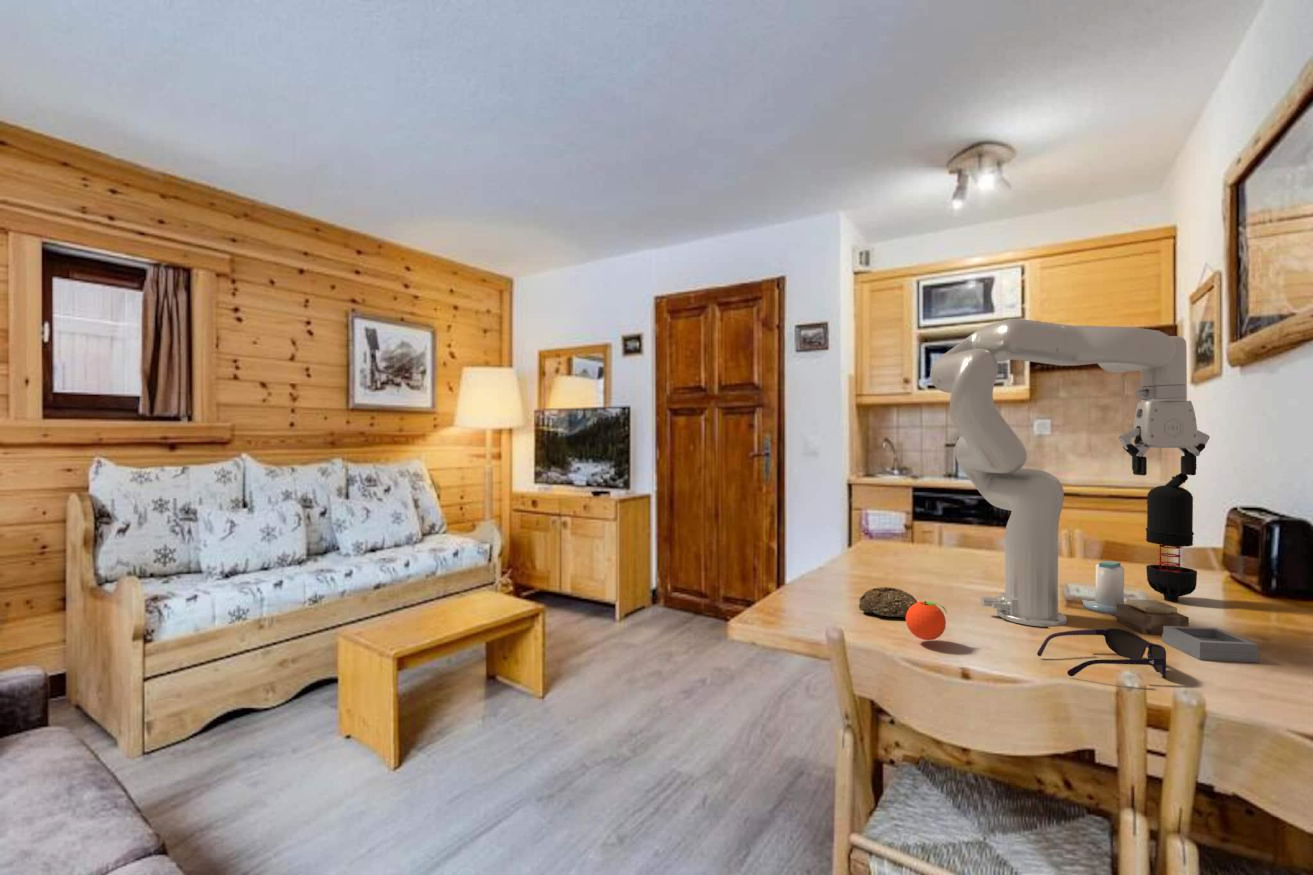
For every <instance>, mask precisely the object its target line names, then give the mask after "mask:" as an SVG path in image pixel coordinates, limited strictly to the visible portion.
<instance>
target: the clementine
mask: <svg viewBox="0 0 1313 875" xmlns="http://www.w3.org/2000/svg"><path fill="white" fill-rule="evenodd" d="M937 605H938V606H940V607H942V608H943V609H944V611H945V613H946V614H948V612H947V609H946V608H945V606H943V605H940V604H939V603H937V602H933V601H926V600H924V601H917V603H915V604H914V605H912V606H911V607H910V608H909V609H908V611H907V614H906V618H905V625H906V626H907V628H908V630H909V631H910V633H911V634H912V635H914V636H915V637H916V638H918V639H920V640H924V641H933V640H935V639H938V638H939V637H941V635H943V634H944V632H945V630H946V627H947V626H946V625H947V621H946V619H947V618H946V616H945V614H944V612H943V611H942V610H941V608H939V607H938V606H937Z"/></svg>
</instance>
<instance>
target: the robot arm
mask: <svg viewBox="0 0 1313 875" xmlns="http://www.w3.org/2000/svg"><path fill="white" fill-rule="evenodd" d="M1187 349H1188V348H1187V341H1186V339H1185V338H1184V337H1182V336H1178V335H1172V336H1171V335H1170V336H1169V335H1168V334H1166V333H1165V332H1162V331H1160V330H1156V329H1149V328H1141V327H1133V326H1117V325H1115V326H1113V325H1112V326H1107V325H1106V326H1105V325H1102V326H1100V325H1070V324H1062V323H1061V324H1060V323H1054V322H1046V321H1038V320H1032V319H1024V318H1009V319H1008V318H1007V319H1004V320H1000V321H997V322H994V323H991V324H987V325H985V326H983V327H980V328H978V329H977V330H976V331H974V332H973V333H972V334H970V335H969V336H967V337H966V338H965V339H963V340H961V342H959V343H958V344H956V345H955V346H953V347H952V348H951V349H949V350H948V351H947V352H945V353H944V354H942V355H941V356H940V357H939V358H937V359H936V361H935V362H934V363H933V364H932V366H931V368H930V374H929V377H930V380H931V381H930V382H931V383H932V385H933V386H934V387H935V388H936V389H937V390H938V391H941V392H944V393H948V394H949V393H950V398H949V399H950V400H949V413H950V418H951V421H952V423H953V425H954V426H955V428H956V430H957V431H958V433H959V434H960V436H959V438H958V439H957V441H956V443H955V444H954V456H955V458H956V459H955V460H956V462H957V464H958V465H959V467H960V470H962V472H963V473H964V474H965V475H966V477H967V478H968V479H969V481H970V482H971V483H972V484H973V486H974V487H975V488H976V490H977V491H978V492H979V494H980V495H981V496H982V497H983V498H984V499H985V500H986V502H988V503H989V504H990V505H992V506H993V507H995V508H998V509H1001V510H1006V511H1011V512H1010V515H1009V518H1008V520H1007V523H1006V526H1005V532H1004V546H1005V547H1004V556H1005V557H1004V561H1005V562H1004V570H1005V571H1004V575H1005V576H1004V592H999V595H998V596H996V597H987V596H981V597H980V604H981V606H982V607H992V609H995V610H996V615H998V616H999V617H1000V618H1001V619H1004V620H1006V621H1008V622H1012V623H1017V624H1019V625H1026V626H1032V627H1042V628H1048V627H1058V626H1060V627H1061V626H1064V625H1067V623H1068V617H1067V616H1066V615H1065V614H1063V613H1061V612H1060V611H1059V526H1060V520H1061V519H1060V518H1061V512H1062V510H1063V506H1064V501H1065V500H1064V499H1065V492H1064V488H1063V485H1062V483H1061V482H1060V480H1059V479H1058V478H1057V477H1056V476H1055V475H1053V473H1050V472H1047V471H1044V470H1040V469H1034V468H1022V467H1024V466H1025V464H1026V462H1027V458H1028V452H1027V449H1026V446H1025V445H1024V443H1023V442H1022V440H1021V439H1020V438H1019V437H1018V435H1017V434H1016V433H1015V432H1014V430H1013V428H1011V426H1010V424H1009V423H1008V422H1007V421H1006V420H1005V418H1004V417H1003V416H1002V414H1001V413H1000V411H999V410H998V408H997V407H996V405H995V402H994V397H993V395H994V386H995V383H996V380H997V376H998V373H999V365H998V364H999V363H998V362H1001V361H1009V360H1012V361H1015V360H1016V361H1023V362H1032V363H1039V364H1045V365H1055V366H1062V367H1063V366H1084V365H1093V364H1094V365H1095V364H1097V365H1098V366H1099V367H1100V368H1101V369H1102V370H1104V371H1106V372H1109V373H1113V374H1114V373H1115V374H1123V373H1131V372H1137V371H1139V372H1140V388H1139V389H1137V390H1135V393H1134V394H1135V396H1136V397H1139V399H1140V401H1139V402H1138V403H1137V406H1136V409H1135V413H1134V421H1133V428H1132V430H1129V431H1126V432H1125V433H1123V434H1120V435H1119V436H1118V440H1119V442H1120V443H1121V445H1122V448H1123V449H1124V451H1126V452H1127V453H1128V456H1130V457H1131V470H1132V474H1133V475H1134V476H1135V475H1136V476H1147V471H1148V470H1147V469H1148V468H1147V467H1148V466H1147V463H1148V462H1147V457H1146V456H1144V455H1145V454H1146V453H1147V452H1148V450H1149V449H1151V448H1155V449H1156V448H1157V449H1159V448H1162V449H1166V448H1167V449H1168V448H1170V449H1171V448H1174V449H1175V448H1177V449H1178V450H1179V451H1180V452H1181V453H1182V455H1181V456H1180V473H1181V474H1183V475H1187V476H1196V474H1197V457H1199V456H1200V455H1201V453H1202V451H1203V450H1204V449H1205V448H1206V445H1207V443H1208V442H1209V440H1210V435H1208V434H1207V433H1205V432H1202V431H1200V430H1198V425H1197V420H1196V411H1195V409H1194V404H1193V402H1192V400H1188V386H1187V385H1188V381H1187V380H1188V378H1187V376H1188V373H1187V371H1188V370H1187V369H1188V367H1187V365H1188V364H1187V354H1188V351H1187ZM1132 439H1133V443H1134V444H1132V441H1131V440H1132Z"/></svg>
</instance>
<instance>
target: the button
mask: <svg viewBox="0 0 1313 875" xmlns="http://www.w3.org/2000/svg"><path fill="white" fill-rule="evenodd" d="M1126 602H1127V603H1128V604H1130V605H1132V608H1134V609H1137V610H1139V611H1141V612H1143V613H1146V614H1170V615H1171V612H1177V613H1178V608H1177V607H1175V606H1172V605H1170V604H1167V603H1165V602H1162V601H1160V600H1158V599H1155V600H1154V599H1134V598H1133V599H1132V598H1131V599H1129V598H1127V599H1126Z"/></svg>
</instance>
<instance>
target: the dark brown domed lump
mask: <svg viewBox="0 0 1313 875" xmlns="http://www.w3.org/2000/svg"><path fill="white" fill-rule="evenodd" d="M858 602H859V604H858V608H859V610H860V611H862V612H864V613H865V612H866V613H867V614H868V613H869V614H875V615H878V616H884V617H893V618H894V617H896V618H898V617H899V618H903V619H904V618H905V619H906V614H907V611H908V609H909V608H910V607H911V606H912V605H914V604H915V603H917V602H918V601H917V599H916V598H915V597H914V595H912V594H911V593H908V592H907V591H904V590H902V589H901V588H900V589H899V588H896V587H891V586H889V587H888V586H884V587H877V588H875V587H874V588H871V589H870V590H867V591H865V593H863V594H862V595H861V597H860V598H859V600H858Z"/></svg>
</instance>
